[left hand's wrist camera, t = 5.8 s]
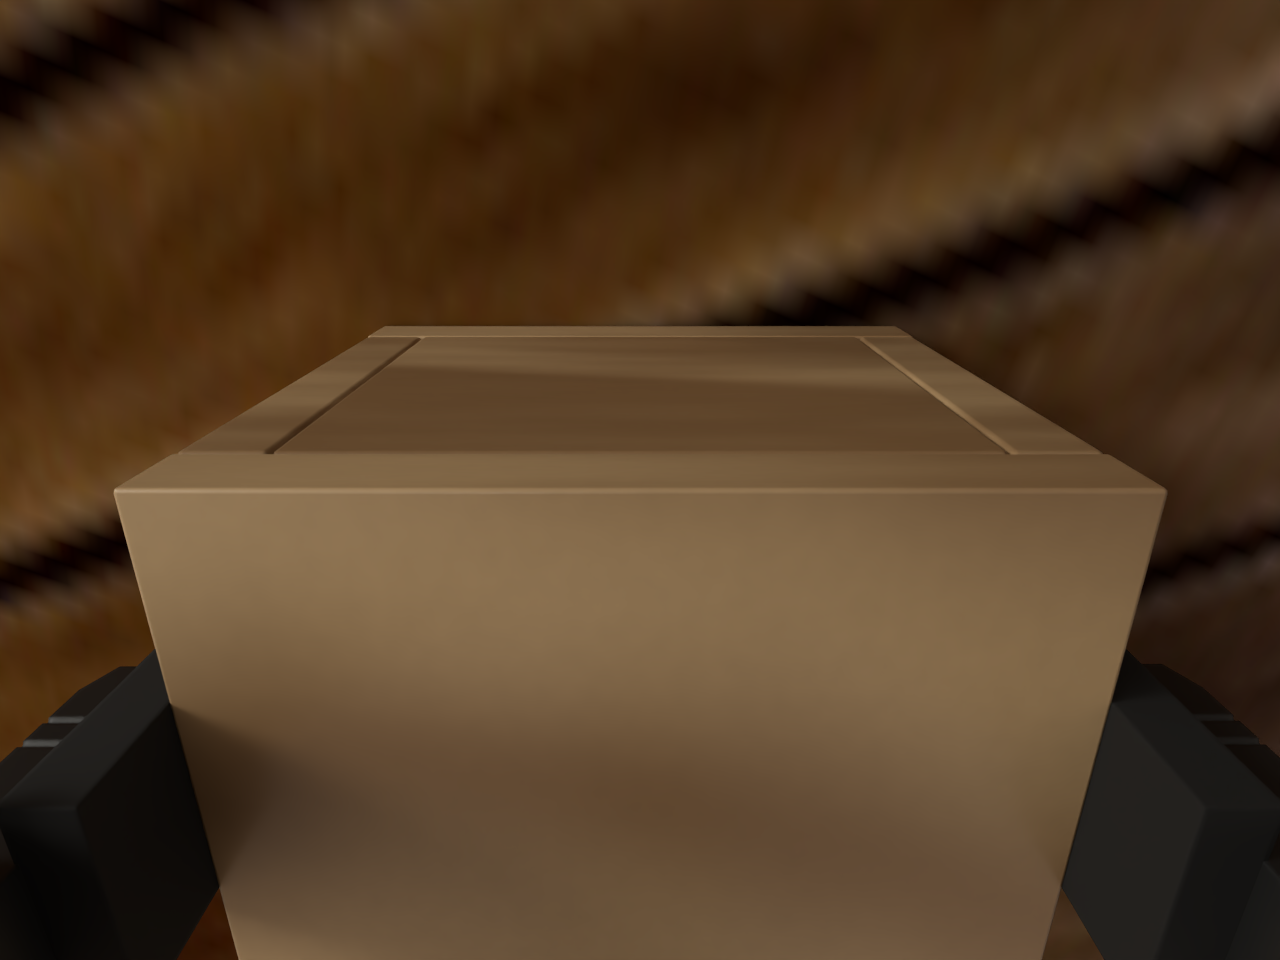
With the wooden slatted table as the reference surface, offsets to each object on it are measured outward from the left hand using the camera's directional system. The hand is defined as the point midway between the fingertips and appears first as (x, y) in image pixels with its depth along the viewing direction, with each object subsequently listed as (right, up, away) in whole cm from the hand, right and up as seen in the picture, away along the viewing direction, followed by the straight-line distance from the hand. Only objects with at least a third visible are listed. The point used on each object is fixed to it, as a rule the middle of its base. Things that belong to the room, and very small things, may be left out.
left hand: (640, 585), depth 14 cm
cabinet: (0, -5, +6) cm, 8 cm away
